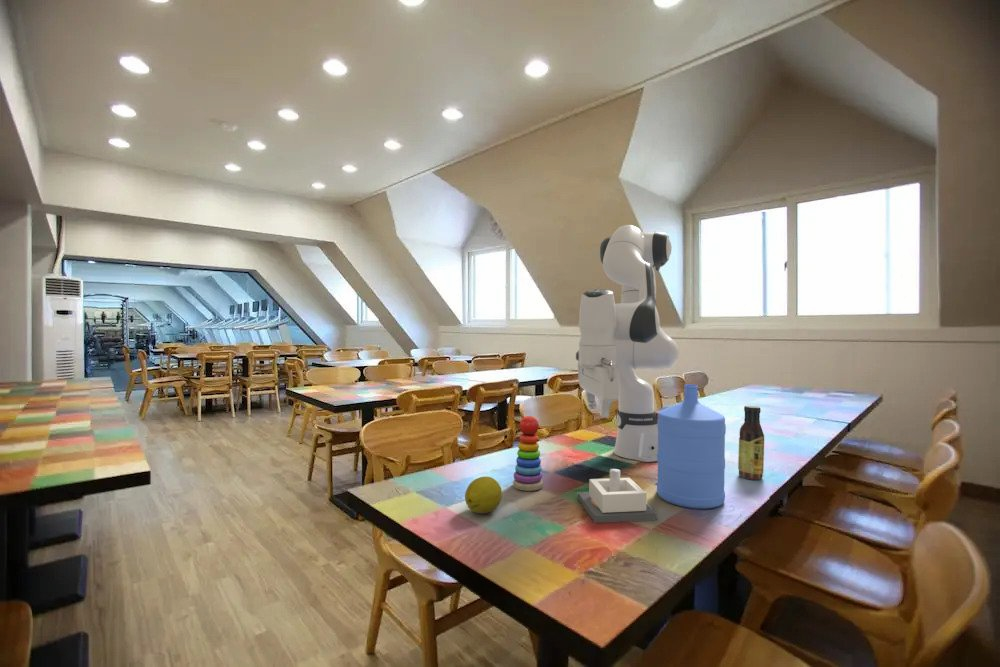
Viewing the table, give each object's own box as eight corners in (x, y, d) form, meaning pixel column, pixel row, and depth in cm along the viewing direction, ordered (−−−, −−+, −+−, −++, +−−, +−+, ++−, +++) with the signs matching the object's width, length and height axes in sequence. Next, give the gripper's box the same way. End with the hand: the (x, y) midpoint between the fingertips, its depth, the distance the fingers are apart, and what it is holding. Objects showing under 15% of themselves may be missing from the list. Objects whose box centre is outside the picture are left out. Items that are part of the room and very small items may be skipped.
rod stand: (632, 495, 117) (632, 460, 117) (656, 519, 103) (656, 479, 103) (577, 498, 116) (577, 462, 115) (594, 522, 102) (594, 482, 101)
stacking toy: (541, 493, 119) (541, 420, 118) (510, 491, 120) (510, 419, 120) (544, 482, 126) (544, 414, 126) (515, 480, 128) (515, 413, 127)
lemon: (486, 501, 114) (485, 468, 114) (510, 509, 109) (510, 475, 108) (453, 515, 106) (453, 480, 105) (478, 525, 100) (478, 488, 100)
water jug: (712, 516, 105) (713, 392, 104) (646, 498, 115) (646, 385, 115) (733, 496, 116) (734, 385, 115) (671, 481, 127) (672, 379, 126)
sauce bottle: (758, 482, 126) (759, 409, 126) (734, 476, 131) (735, 406, 130) (767, 477, 130) (768, 406, 130) (743, 471, 135) (744, 403, 135)
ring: (629, 493, 114) (629, 477, 113) (646, 510, 104) (646, 492, 103) (589, 495, 112) (589, 479, 112) (602, 512, 103) (602, 494, 102)
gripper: (626, 361, 103) (626, 422, 104) (596, 352, 123) (597, 403, 124) (598, 361, 102) (599, 423, 103) (573, 352, 123) (574, 404, 124)
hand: (597, 412), depth 114 cm, fingers open, 8 cm apart
